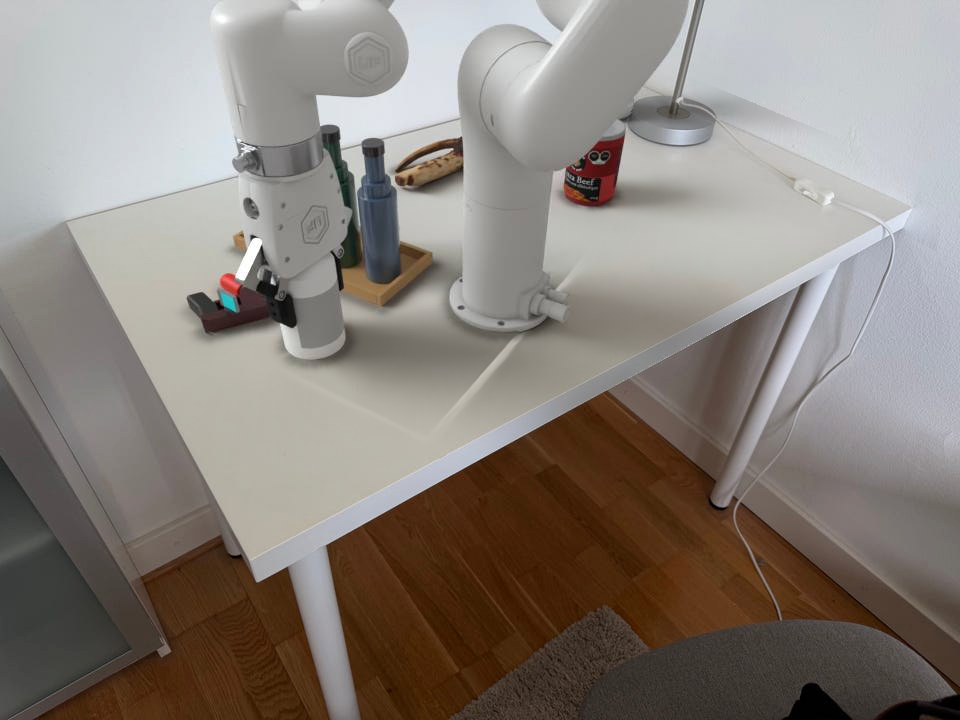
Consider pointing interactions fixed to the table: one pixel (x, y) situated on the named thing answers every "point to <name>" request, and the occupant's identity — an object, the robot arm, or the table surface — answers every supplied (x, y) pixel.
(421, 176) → the lashed bone hook
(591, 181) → the canned food
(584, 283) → the table surface
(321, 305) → the spray bottle
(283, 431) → the table surface
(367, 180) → the slate bottle
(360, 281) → the tray
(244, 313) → the toy gun
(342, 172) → the green bottle
